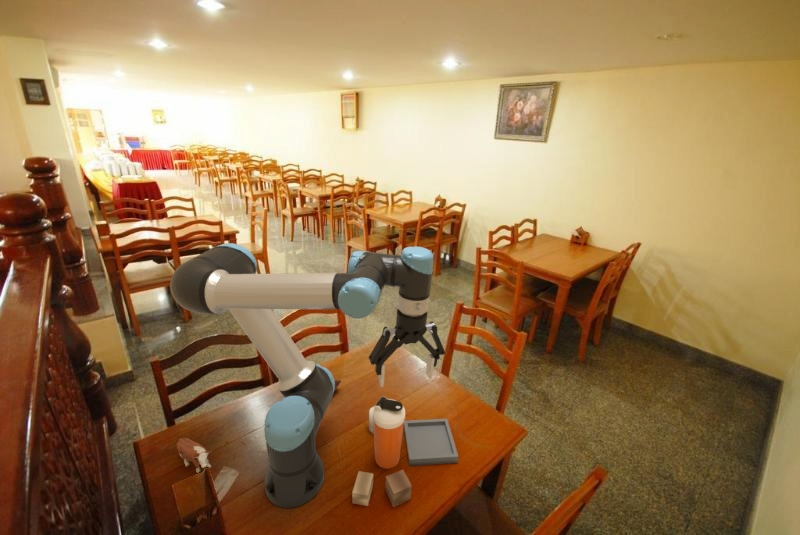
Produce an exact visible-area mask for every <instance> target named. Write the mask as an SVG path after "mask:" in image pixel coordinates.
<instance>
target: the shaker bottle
mask: <svg viewBox="0 0 800 535" xmlns="http://www.w3.org/2000/svg"><path fill="white" fill-rule="evenodd" d="M373 407H374V408H373V416H372V417H373V421H374V433H373V437H374V438H373V439H374V461H375V463H376V464H377V465H378V466H379V467H380V468H382V469H385V470H388V469H392V468H394V467H395V468H396V466H397V465H398V464H399V462H400V457H401V449H402V438H403V432H404V421H406V408H405V406H404V405H403V403H402V402H401V401H398V400H396V399H392V398H387V397H386V396H385V395H382V396H380V397H379V399H378V401H377V403H376V404H375V405H374V406H373Z"/></svg>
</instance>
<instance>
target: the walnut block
mask: <svg viewBox="0 0 800 535" xmlns="http://www.w3.org/2000/svg"><path fill="white" fill-rule="evenodd" d="M384 486H385V488H384V490H385V494H386V495H387V497H388V499H389V501H390V504H391V506H392V507H393V508H394V507H396V506H399V505H401V504H404V503H406V502H408V501H410V500H411V499H412V490H413V489H412V488H413V486H412V484H411V482H410V479H409V477H408V476H407V475H406V472H405V471H404V469H401V470H399V471H396V472H394V473H391V474H389V475H386V476H385V485H384Z"/></svg>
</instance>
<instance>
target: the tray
mask: <svg viewBox="0 0 800 535" xmlns="http://www.w3.org/2000/svg"><path fill="white" fill-rule="evenodd" d="M450 426H451V425H450V424H449V420H448V418H433V419H432V418H431V419H430V418H428V419H414V420H412V419H411V420H405V421H404V424H403V432H404V440H405V446H406V454H407V459H408V465H409V467H412V466H413V467H414V466H425V465H426V466H428V465H429V466H430V465H431V466H432V465H442V464H443V465H446V464H458V463H459V454H458V450H457V447H456V444H455V441H454V437H453V434H452V430H451V427H450Z"/></svg>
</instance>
